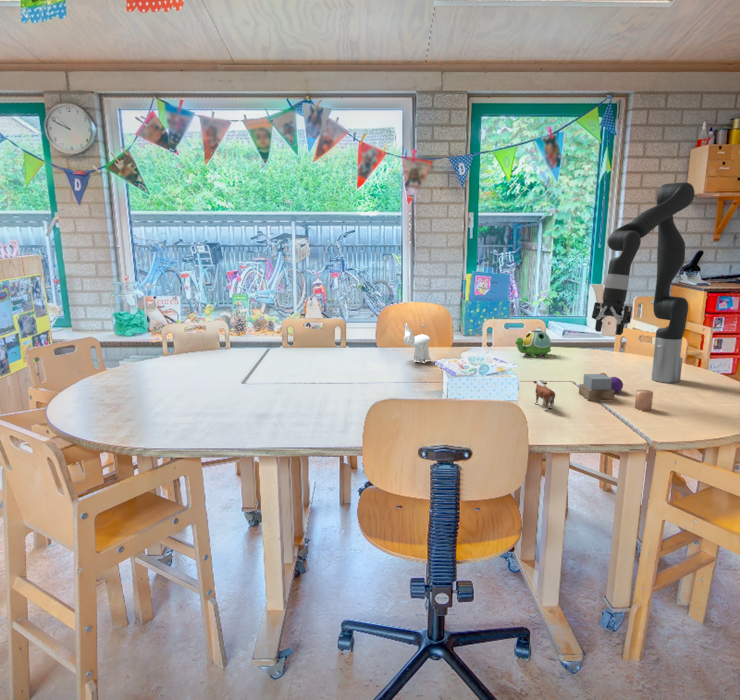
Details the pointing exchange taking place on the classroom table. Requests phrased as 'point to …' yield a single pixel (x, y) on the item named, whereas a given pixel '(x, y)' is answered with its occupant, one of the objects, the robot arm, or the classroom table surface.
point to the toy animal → (417, 344)
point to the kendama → (615, 384)
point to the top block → (597, 382)
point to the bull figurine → (544, 393)
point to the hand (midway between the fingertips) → (608, 333)
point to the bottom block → (596, 394)
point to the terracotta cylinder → (644, 400)
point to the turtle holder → (534, 343)
